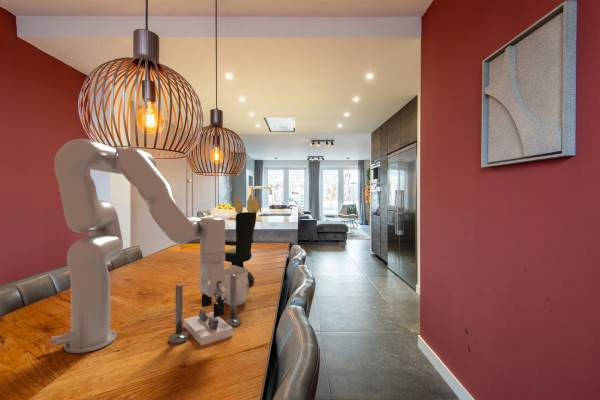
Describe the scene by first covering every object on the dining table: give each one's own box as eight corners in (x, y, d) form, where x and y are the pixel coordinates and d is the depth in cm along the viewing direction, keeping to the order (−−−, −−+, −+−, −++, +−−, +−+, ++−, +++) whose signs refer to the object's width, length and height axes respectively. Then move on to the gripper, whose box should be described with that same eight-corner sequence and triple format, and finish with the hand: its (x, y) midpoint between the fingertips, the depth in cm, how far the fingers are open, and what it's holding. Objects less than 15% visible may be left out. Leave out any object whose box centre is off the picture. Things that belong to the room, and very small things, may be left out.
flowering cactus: (243, 276, 158) (244, 193, 157) (269, 285, 142) (270, 194, 142) (211, 283, 145) (212, 193, 144) (236, 294, 129) (236, 193, 128)
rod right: (229, 328, 96) (229, 277, 96) (222, 322, 101) (222, 274, 100) (244, 324, 100) (244, 274, 100) (236, 318, 104) (236, 271, 104)
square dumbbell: (212, 329, 89) (213, 321, 90) (198, 316, 99) (200, 309, 99) (217, 328, 90) (218, 320, 91) (203, 316, 100) (204, 309, 100)
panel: (201, 345, 85) (201, 337, 85) (184, 326, 98) (184, 318, 98) (232, 335, 91) (232, 327, 91) (212, 318, 104) (212, 311, 104)
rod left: (171, 346, 85) (172, 288, 85) (166, 338, 89) (166, 283, 89) (191, 340, 88) (191, 284, 88) (185, 333, 93) (185, 280, 93)
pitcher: (224, 314, 108) (224, 277, 108) (219, 298, 125) (219, 266, 124) (253, 310, 112) (254, 274, 112) (245, 295, 129) (245, 264, 128)
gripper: (191, 253, 95) (191, 305, 96) (211, 263, 82) (211, 323, 82) (213, 251, 100) (213, 300, 100) (236, 260, 87) (236, 316, 87)
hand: (212, 310), depth 91 cm, fingers open, 9 cm apart
